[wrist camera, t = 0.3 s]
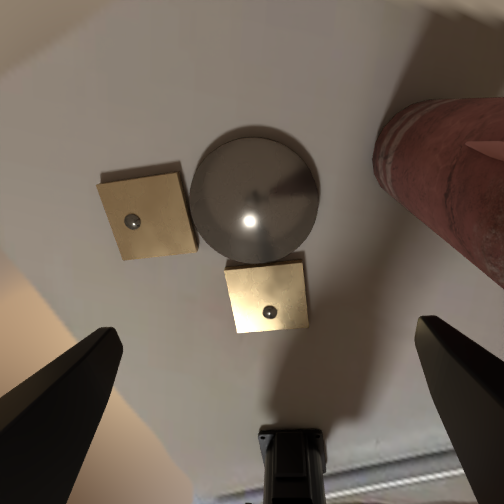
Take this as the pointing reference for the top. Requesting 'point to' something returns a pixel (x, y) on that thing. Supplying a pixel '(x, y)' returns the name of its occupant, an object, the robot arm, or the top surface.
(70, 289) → the top surface
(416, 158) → the can
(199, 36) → the top surface
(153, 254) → the flat squares and disc
